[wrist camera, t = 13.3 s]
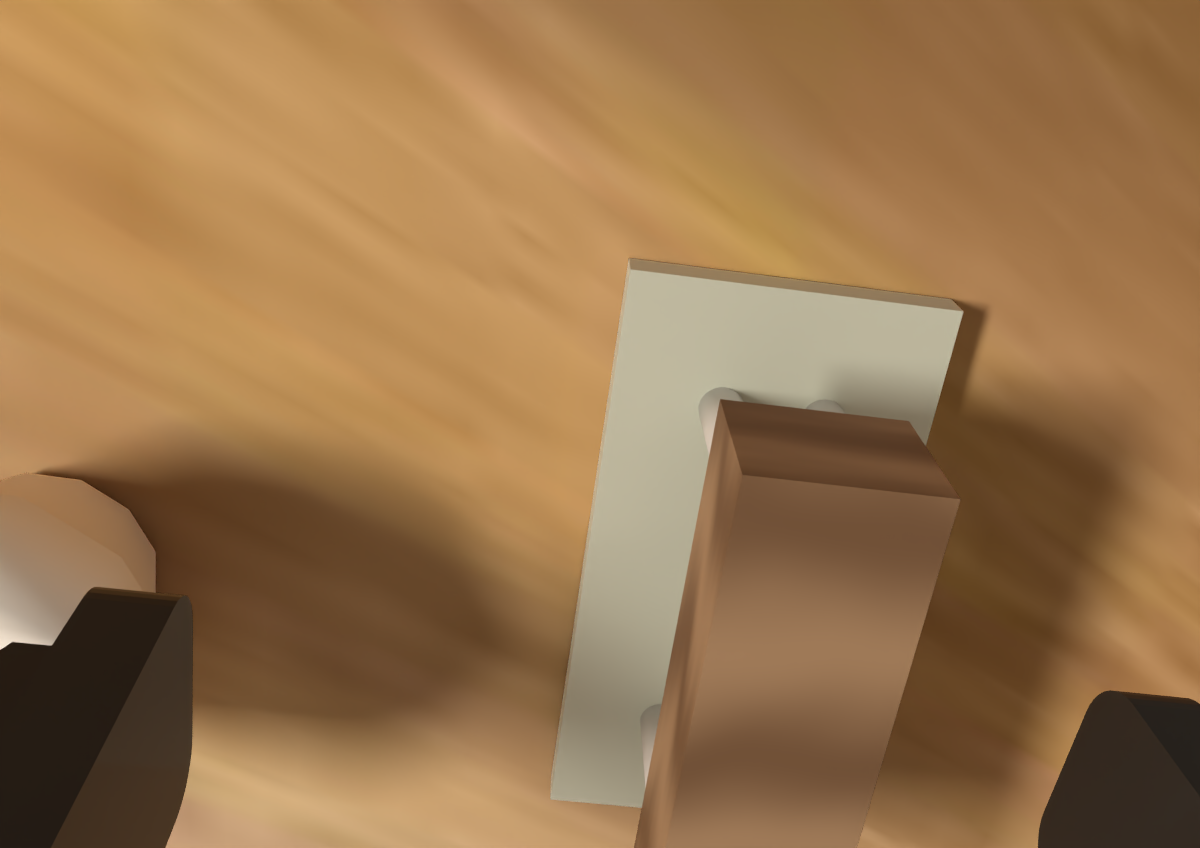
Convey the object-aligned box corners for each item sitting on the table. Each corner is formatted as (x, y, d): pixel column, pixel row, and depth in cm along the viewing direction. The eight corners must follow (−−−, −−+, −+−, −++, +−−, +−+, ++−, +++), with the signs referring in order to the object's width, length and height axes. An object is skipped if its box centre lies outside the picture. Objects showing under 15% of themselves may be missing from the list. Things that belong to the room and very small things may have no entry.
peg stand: (551, 776, 42) (547, 885, 37) (628, 258, 34) (637, 313, 29) (813, 800, 43) (843, 911, 38) (951, 299, 34) (1011, 359, 30)
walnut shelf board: (720, 398, 30) (742, 474, 26) (908, 421, 30) (960, 499, 26) (633, 849, 36) (640, 967, 32) (790, 863, 37) (817, 981, 33)
